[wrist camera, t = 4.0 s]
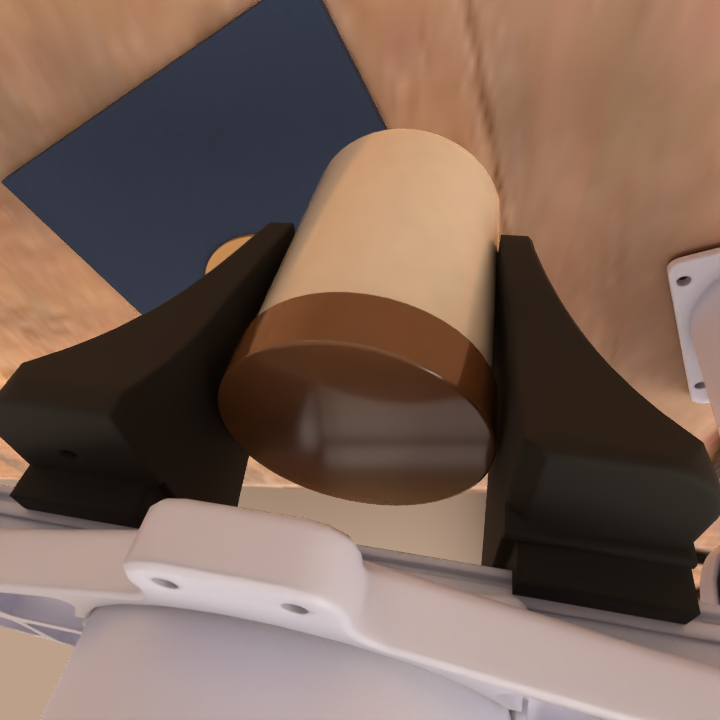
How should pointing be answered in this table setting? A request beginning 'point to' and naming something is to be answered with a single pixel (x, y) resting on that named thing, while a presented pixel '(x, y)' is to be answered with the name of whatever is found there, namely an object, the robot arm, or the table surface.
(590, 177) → the table surface
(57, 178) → the desk pad
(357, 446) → the jar
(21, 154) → the table surface
